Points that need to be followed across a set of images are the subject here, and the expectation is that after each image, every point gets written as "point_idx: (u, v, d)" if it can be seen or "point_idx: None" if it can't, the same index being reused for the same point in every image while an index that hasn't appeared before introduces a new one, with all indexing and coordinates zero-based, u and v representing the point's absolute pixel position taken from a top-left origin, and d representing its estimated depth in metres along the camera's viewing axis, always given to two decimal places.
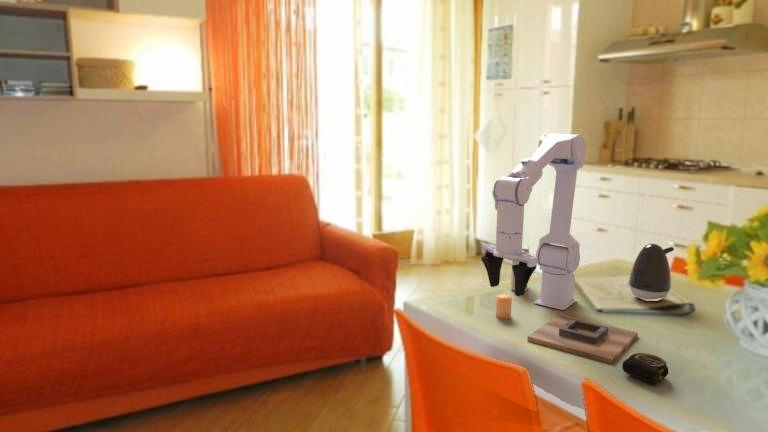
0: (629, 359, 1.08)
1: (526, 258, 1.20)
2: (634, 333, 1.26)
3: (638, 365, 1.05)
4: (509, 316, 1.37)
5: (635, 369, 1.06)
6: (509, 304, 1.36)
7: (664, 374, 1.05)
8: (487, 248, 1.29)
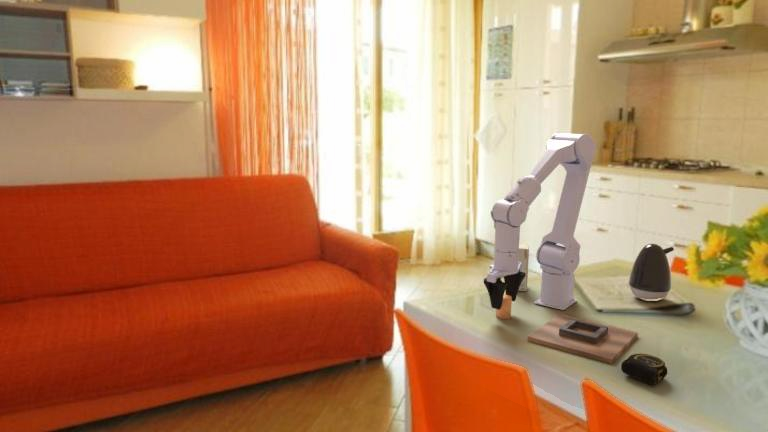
0: (628, 360, 1.08)
1: (489, 273, 1.32)
2: (634, 333, 1.26)
3: (637, 365, 1.05)
4: (509, 316, 1.37)
5: (634, 370, 1.05)
6: (509, 304, 1.36)
7: (663, 375, 1.05)
8: None
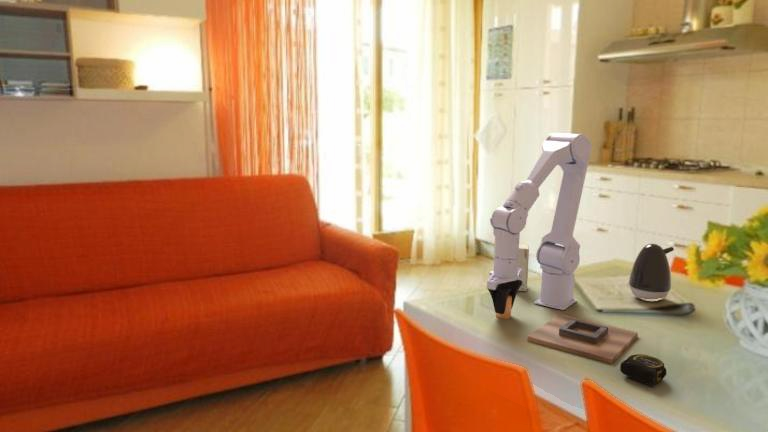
0: (627, 360, 1.07)
1: (489, 280, 1.32)
2: (634, 333, 1.26)
3: (636, 366, 1.05)
4: (509, 316, 1.37)
5: (633, 371, 1.05)
6: (509, 304, 1.36)
7: (662, 375, 1.04)
8: None
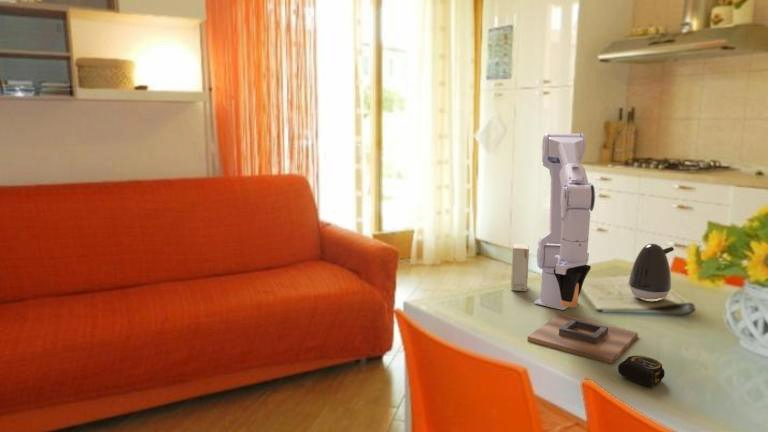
0: (625, 361, 1.07)
1: (557, 264, 1.20)
2: (634, 333, 1.26)
3: (634, 367, 1.04)
4: (576, 304, 1.25)
5: (631, 372, 1.05)
6: (576, 291, 1.24)
7: (660, 377, 1.04)
8: None
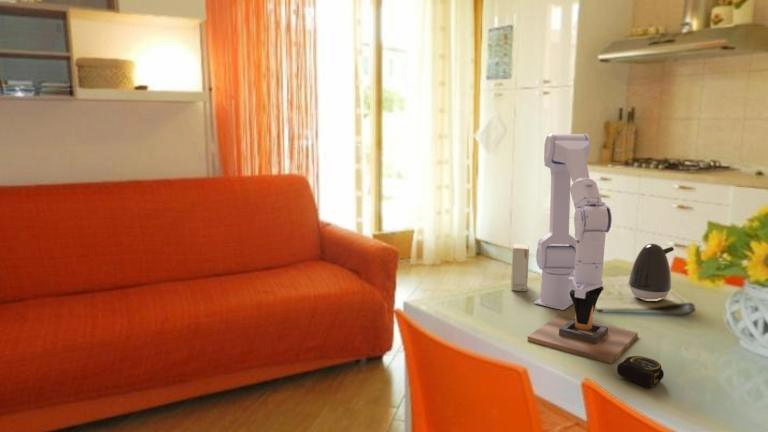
0: (624, 362, 1.06)
1: (576, 287, 1.18)
2: (634, 333, 1.26)
3: (633, 368, 1.04)
4: (591, 326, 1.24)
5: (630, 373, 1.04)
6: (592, 313, 1.23)
7: (659, 377, 1.03)
8: None
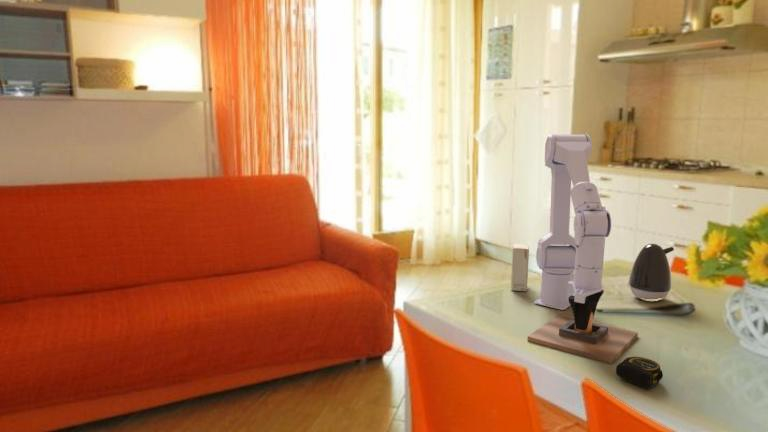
0: (623, 363, 1.06)
1: None
2: (634, 333, 1.26)
3: (632, 369, 1.04)
4: None
5: (629, 373, 1.04)
6: (591, 320, 1.23)
7: (658, 378, 1.03)
8: None
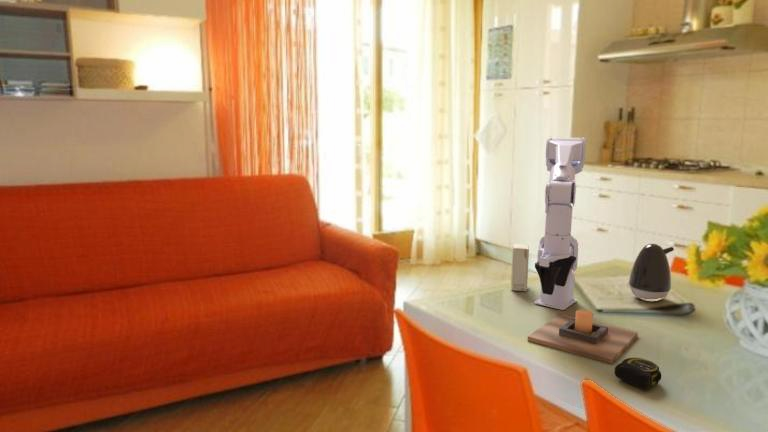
0: (621, 364, 1.06)
1: (541, 257, 1.27)
2: (634, 333, 1.26)
3: (631, 370, 1.03)
4: None
5: (628, 374, 1.04)
6: (591, 321, 1.23)
7: (657, 379, 1.03)
8: None
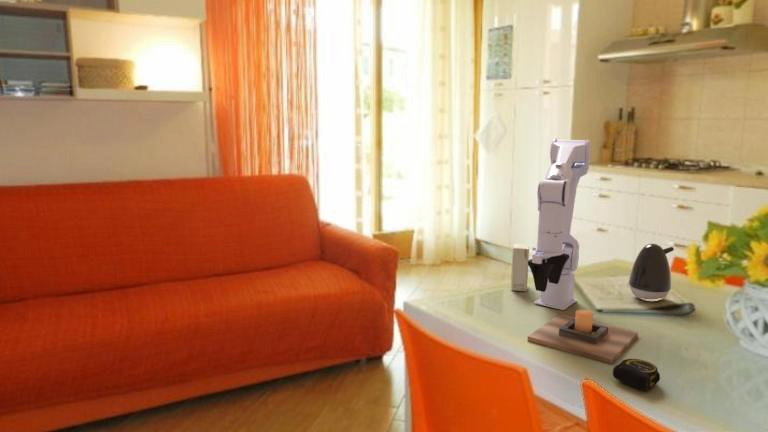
0: (620, 365, 1.05)
1: (534, 254, 1.28)
2: (634, 333, 1.26)
3: (629, 371, 1.03)
4: None
5: (626, 375, 1.03)
6: (591, 321, 1.23)
7: (655, 380, 1.02)
8: None
